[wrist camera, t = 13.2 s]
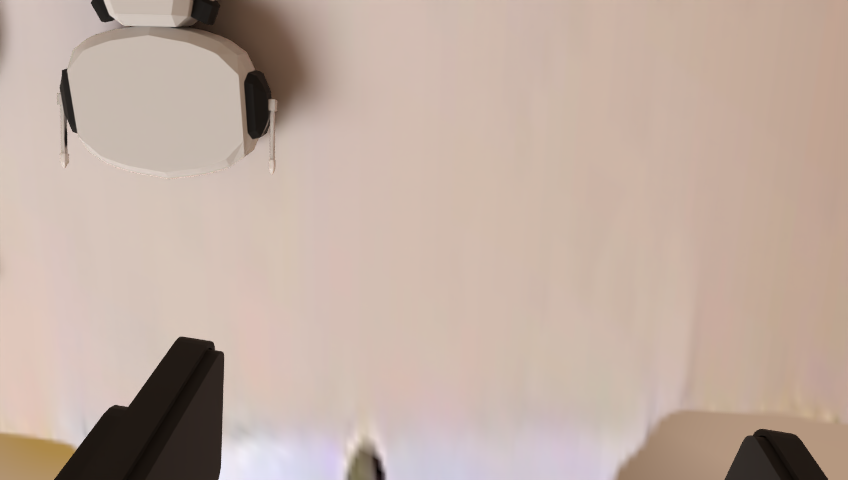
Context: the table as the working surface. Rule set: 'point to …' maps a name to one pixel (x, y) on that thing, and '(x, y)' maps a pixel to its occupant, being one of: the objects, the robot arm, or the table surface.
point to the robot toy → (164, 92)
